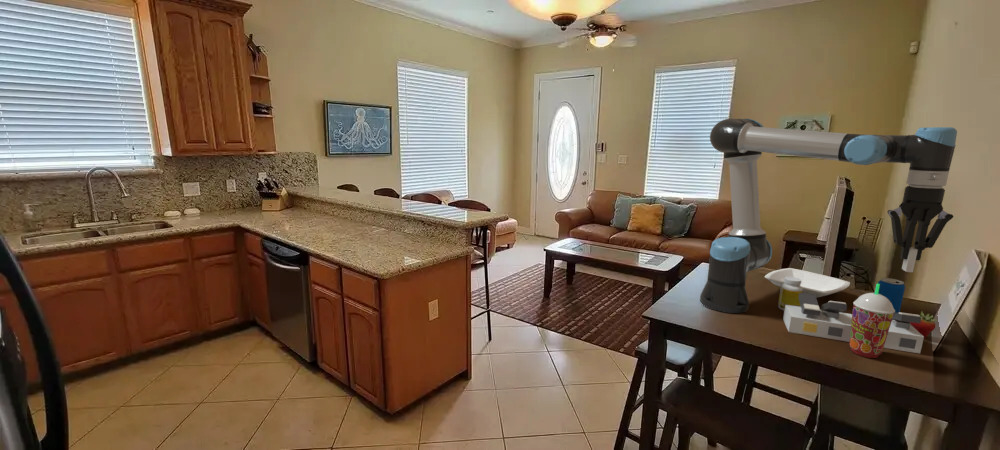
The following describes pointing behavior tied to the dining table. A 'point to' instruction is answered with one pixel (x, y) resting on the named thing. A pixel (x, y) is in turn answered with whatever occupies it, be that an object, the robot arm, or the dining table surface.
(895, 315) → the rocker
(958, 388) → the dining table surface
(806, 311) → the rocker
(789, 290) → the pill bottle
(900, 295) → the beverage can
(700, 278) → the dining table surface
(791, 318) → the switch unit
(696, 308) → the dining table surface
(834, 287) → the bowl
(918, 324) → the fruit
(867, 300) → the smoothie
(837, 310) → the rocker
